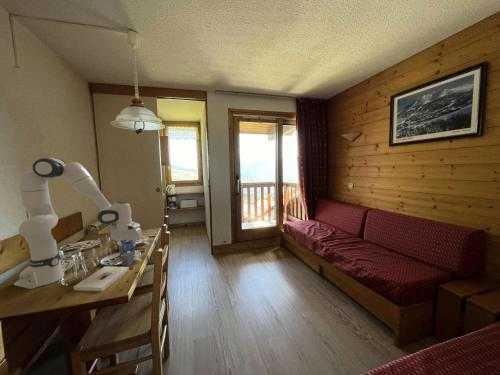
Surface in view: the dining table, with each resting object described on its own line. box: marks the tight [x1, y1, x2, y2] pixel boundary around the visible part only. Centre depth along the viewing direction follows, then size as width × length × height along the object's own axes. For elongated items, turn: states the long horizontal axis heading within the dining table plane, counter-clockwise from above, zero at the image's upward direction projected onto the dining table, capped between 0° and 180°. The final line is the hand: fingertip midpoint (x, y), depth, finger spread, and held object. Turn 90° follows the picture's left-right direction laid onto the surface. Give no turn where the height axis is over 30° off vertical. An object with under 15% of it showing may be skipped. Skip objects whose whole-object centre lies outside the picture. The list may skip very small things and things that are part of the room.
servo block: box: [120, 251, 135, 267], centre depth 142 cm, size 4×10×8 cm, turn 175°
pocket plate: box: [73, 265, 130, 292], centre depth 123 cm, size 16×22×2 cm
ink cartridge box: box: [118, 240, 136, 256], centre depth 154 cm, size 10×6×14 cm, turn 67°
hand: (127, 245), depth 141 cm, fingers open, 8 cm apart
